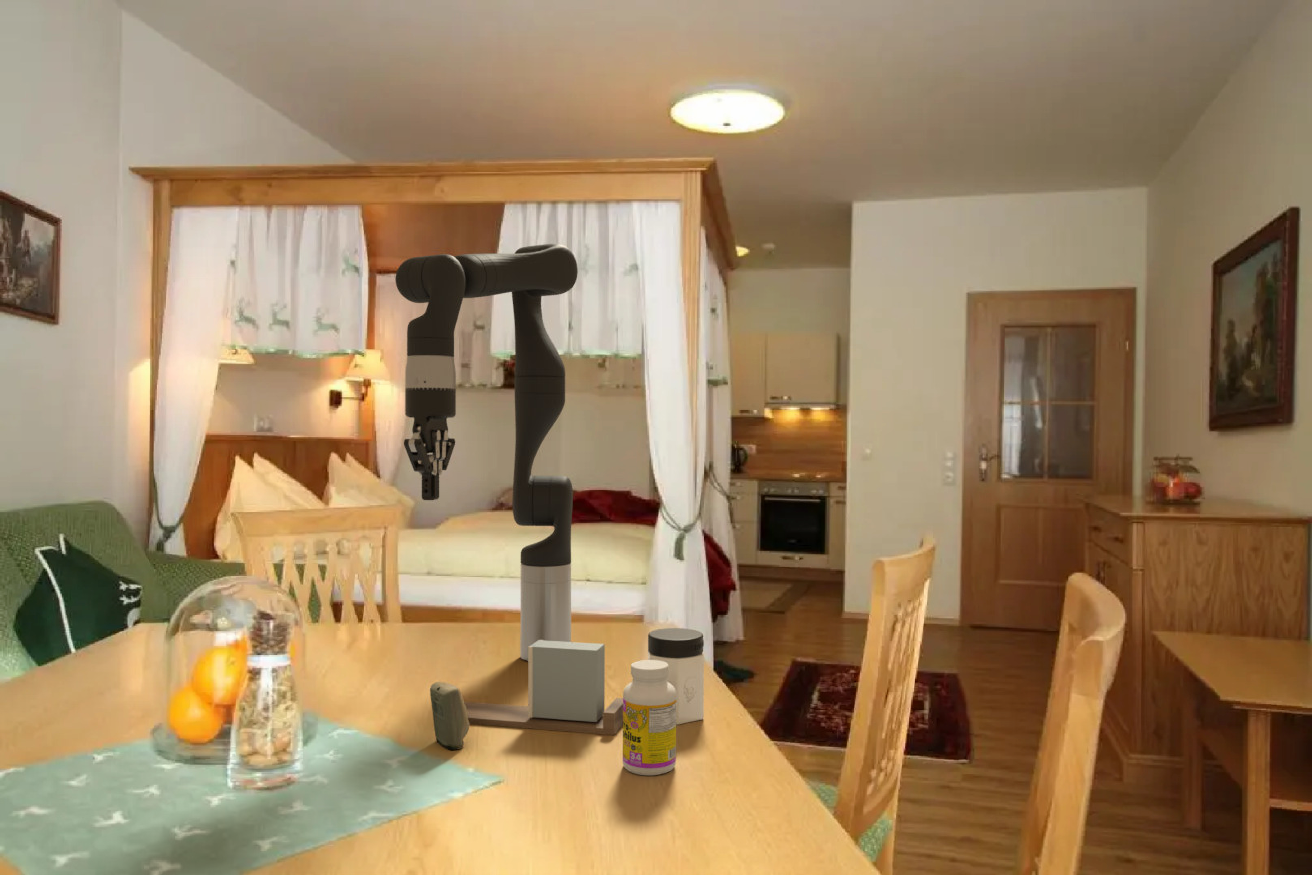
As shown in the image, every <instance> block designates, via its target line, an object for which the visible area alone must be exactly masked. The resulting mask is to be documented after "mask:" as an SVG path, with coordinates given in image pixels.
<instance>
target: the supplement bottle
mask: <svg viewBox="0 0 1312 875" xmlns="http://www.w3.org/2000/svg"><path fill="white" fill-rule="evenodd" d="M668 674H669V666H668V664H667V663H666V662H663V661H658V660H648V659H642V660H638V661H635V662H632V663H631V665H630V675H631V677H632V681H630V682H629V683H628V684H627V685H626V686H625V688H623V692H622V698H623V725H622V764H623V767H624V769H626V771H628V772H630V773H632V774H635V775H639V776H657V775H662V774H666V773H668V772H670V771H672V770H674V768H675V767H676V764H677V763H676V761H677V760H676V759H677V725H676V690H675V688H674V687H673V685H671V684H670V683H668V682H667V677H668Z"/></svg>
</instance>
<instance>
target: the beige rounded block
mask: <svg viewBox="0 0 1312 875" xmlns="http://www.w3.org/2000/svg"><path fill="white" fill-rule="evenodd" d="M429 695H430V701H431V711H432V721H433V730H434V733H435V734H434V735H435V739H436V740H435V741H436V744H439V745H440V746H442V747H444V748H445V749H446V750H449V751H455V750H456V751H457V750H460V749H463V748H464V744H465V741H464V739H465V737H466V736H467V735H468V732H469V731H470V730H469V729H470V723H469V721H468V717H467V711H466V706H465V704H464V702H465V701H464V697H463V695H462V692H461V689H460V688H459V687H458V686H456V685H454V684H452V683H448V682H443V681H442V682H441V681H437V682H434V683H432V684H431V685H430V689H429Z"/></svg>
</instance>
